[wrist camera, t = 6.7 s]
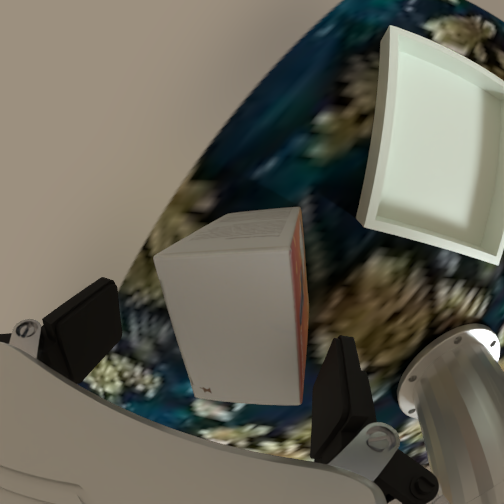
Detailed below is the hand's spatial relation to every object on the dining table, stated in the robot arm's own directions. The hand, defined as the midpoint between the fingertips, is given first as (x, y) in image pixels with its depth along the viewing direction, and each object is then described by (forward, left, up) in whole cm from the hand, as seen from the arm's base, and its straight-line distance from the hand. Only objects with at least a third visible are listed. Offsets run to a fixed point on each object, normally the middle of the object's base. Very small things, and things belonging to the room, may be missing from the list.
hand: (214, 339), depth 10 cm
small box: (-1, 0, -11) cm, 11 cm away
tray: (-12, -11, -11) cm, 20 cm away
